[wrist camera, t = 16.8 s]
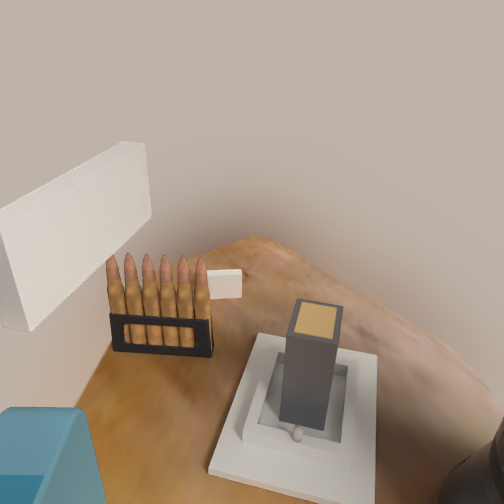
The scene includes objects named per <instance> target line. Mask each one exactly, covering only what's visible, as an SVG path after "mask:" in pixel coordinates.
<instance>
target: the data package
mask: <svg viewBox="0 0 504 504" xmlns="http://www.w3.org/2000/svg"><path fill="white" fill-rule="evenodd" d="M0 504H106V496H105V492H104V488H103V484H102V479H101V475H100V471H99V467H98V463H97V459H96V455H95V451H94V447H93V443H92V439H91V435H90V430H89V426H88V422H87V418H86V415H85V412H84V411H83V410H82V409H81V408H56V407H52V408H51V407H50V408H49V407H10V408H7V409H6V410H4V411H3V412H2V413H1V414H0Z"/></svg>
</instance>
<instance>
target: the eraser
mask: <svg viewBox="0 0 504 504" xmlns="http://www.w3.org/2000/svg"><path fill="white" fill-rule="evenodd" d="M207 280H208V288H209V292H210V299H223V298H242V271H241V269H232V270H207Z"/></svg>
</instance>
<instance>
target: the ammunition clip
mask: <svg viewBox="0 0 504 504" xmlns="http://www.w3.org/2000/svg"><path fill="white" fill-rule="evenodd" d="M106 272H107V283H108V286H107V293H108V299H109V305H110V310H111V313H110V314H109V316H110V324H111V333H112V343H113V350H114V351H117V352H132V353H147V354H162V355H176V356H191V357H206V358H210V357H211V356H212V352H213V347H214V341H213V330H212V319H211V308H210V292H209V288H208V280H207V270H206V265H205V262H204V260H203V258H202V257H199V259H198V261H197V265H196V273H195V291H194V304H193V291H192V288H191V282H190V273H189V268H188V264H187V261H186V259H185V257H184V256H181V258H180V260H179V264H178V288H177V301H176V291H175V288H174V284H173V278H172V270H171V266H170V263H169V260H168V258H167V256H166V255H163V257H162V260H161V264H160V293H159V290H158V287H157V284H156V278H155V272H154V267H153V264H152V261H151V259H150V257H149V255H148V254H145V256H144V259H143V265H142V276H143V290H142V291H141V287H140V285H139V281H138V276H137V271H136V266H135V263H134V260H133V258H132V256H131V255H130V253H127V254H126V257H125V262H124V274H125V292H124V287H123V285H122V283H121V278H120V274H119V269H118V266H117V262H116V260H115V257H114V255H112V256H110V257H109V258H108V259H107V260H106ZM159 294H160V299H159ZM142 295H143V299H142ZM125 298H126V299H125ZM143 304H144V305H143ZM144 314H145V315H144ZM194 317H195V319H194ZM195 334H196V337H195Z"/></svg>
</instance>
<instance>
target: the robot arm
mask: <svg viewBox="0 0 504 504" xmlns="http://www.w3.org/2000/svg"><path fill="white" fill-rule="evenodd" d="M151 217H152V211H151V202H150V192H149V181H148V172H147V161H146V150H145V143H142V142H133V141H122V142H120V143H119V144H117V145H115V146H113V147H112V148H110V149H108V150H106V151H104V152H103V153H101V154H99V155H97V156H95V157H93V158H92V159H90V160H88V161H86V162H84V163H83V164H81V165H79V166H77V167H75V168H74V169H72V170H70V171H68V172H67V173H64V174H63V175H61V176H59V177H57V178H55V179H54V180H52V181H50V182H48V183H47V184H45V185H43V186H41V187H40V188H37V189H36V190H34V191H32V192H30V193H29V194H27V195H25V196H23V197H22V198H19V199H18V200H16V201H14V202H12V203H10V204H9V205H7V206H5V207H3V208H2V209H0V318H1V321H2V324H3V327H7V328H12V329H16V330H21V331H25V332H32V331H33V330H34V329H35V328H36V327H37V326H38V325H39V324H40V323H41V322H42V321H43V320H44V319H45V318H46V317H47V316H48V315H50V314H51V313H52V312H53V311H54V310H55V309H56V308H57V307H58V306H59V305H60V304H61V303H62V302H63V301H64V300H65V299H66V298H67V297H68V296H69V295H71V293H72V292H74V291H75V290H76V289H77V288H78V287H79V286H80V285H81V284H82V283H83V282H84V281H85V280H86V279H87V278H88V277H89V276H90V275H91V274H93V273H94V272H95V271H96V270H97V269H98V268H99V267H100V266H101V265H102V264H103V263H104V262H105V261H106V260H107V259H108V258H109V257H110V256H112V255H113V254H114V252H116V251H117V250H118V249H119V248H120V247H121V246H122V245H123V244H124V243H125V242H126V241H127V240H128V239H129V238H130V237H131V236H133V235H134V234H135V233H136V232H137V231H138V230H139V229H140V228H141V227H142V226H143V225H144V224H145V223H146V222H147V221H148V220H149V219H150V218H151ZM433 504H504V417H503V420H502V422H501V424H500V426H499V429H498V431H497V433H496V435H495V437H494V439H493V440H492V441H491V442H490V443H488V444H487V445H486V446H484V447H483V448H482V449H480V450H479V451H478V452H476V453H475V454H474V455H471V456H469V457H467V458H466V459H464V460H462V461H461V462H460V463H458V464H457V465H456V466H454V467H453V468H452V470H451V471H450V472H449V473H448V474H447V476H446V477H445V478H444V480H443V482H442V484H441V486H440V488H439V490H438V493H437V495H436V498H435V500H434V502H433Z"/></svg>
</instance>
